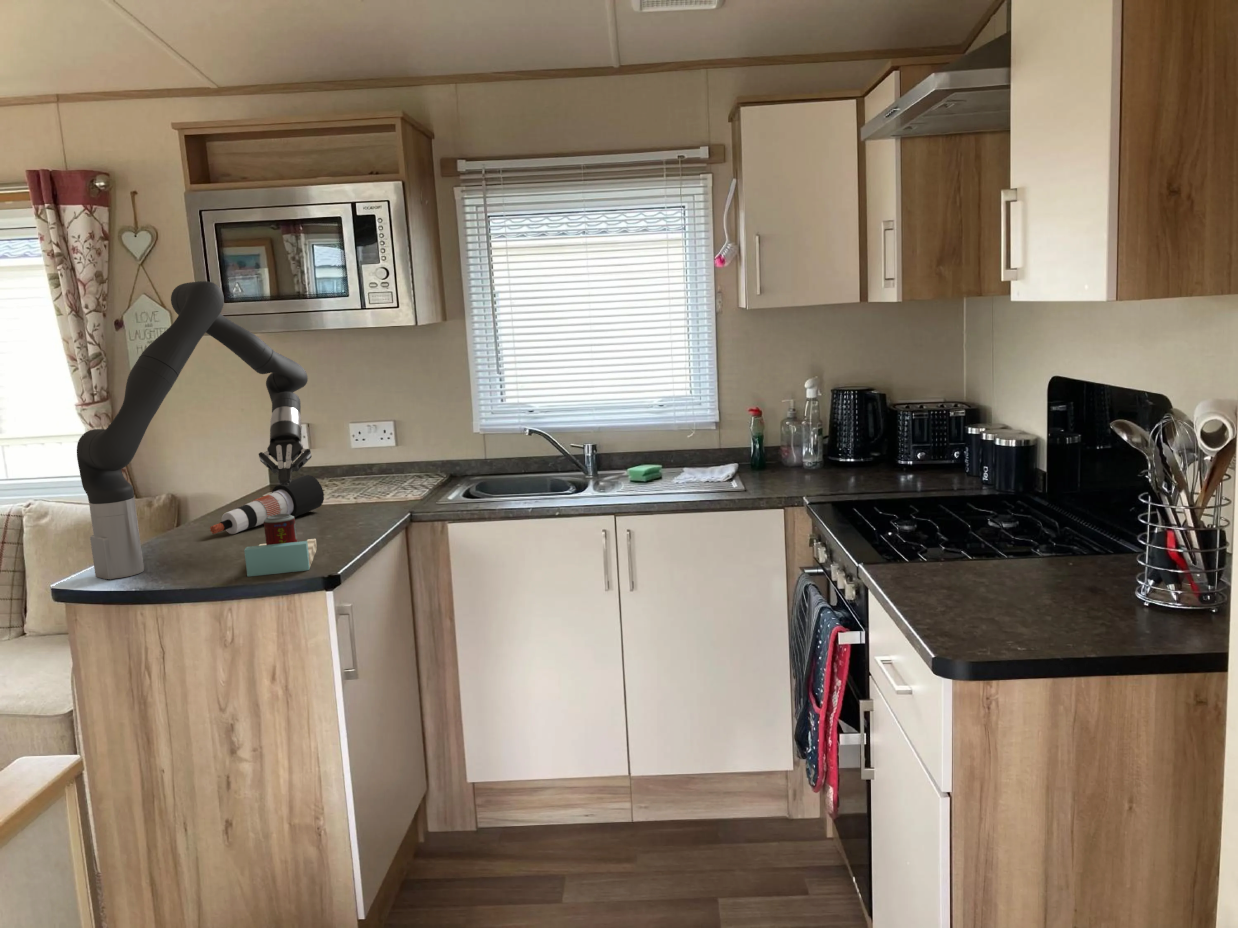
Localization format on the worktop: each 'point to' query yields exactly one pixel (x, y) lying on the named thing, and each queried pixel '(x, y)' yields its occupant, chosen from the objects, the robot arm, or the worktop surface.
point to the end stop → (277, 558)
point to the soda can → (280, 529)
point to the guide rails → (309, 549)
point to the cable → (274, 505)
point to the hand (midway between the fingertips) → (284, 483)
